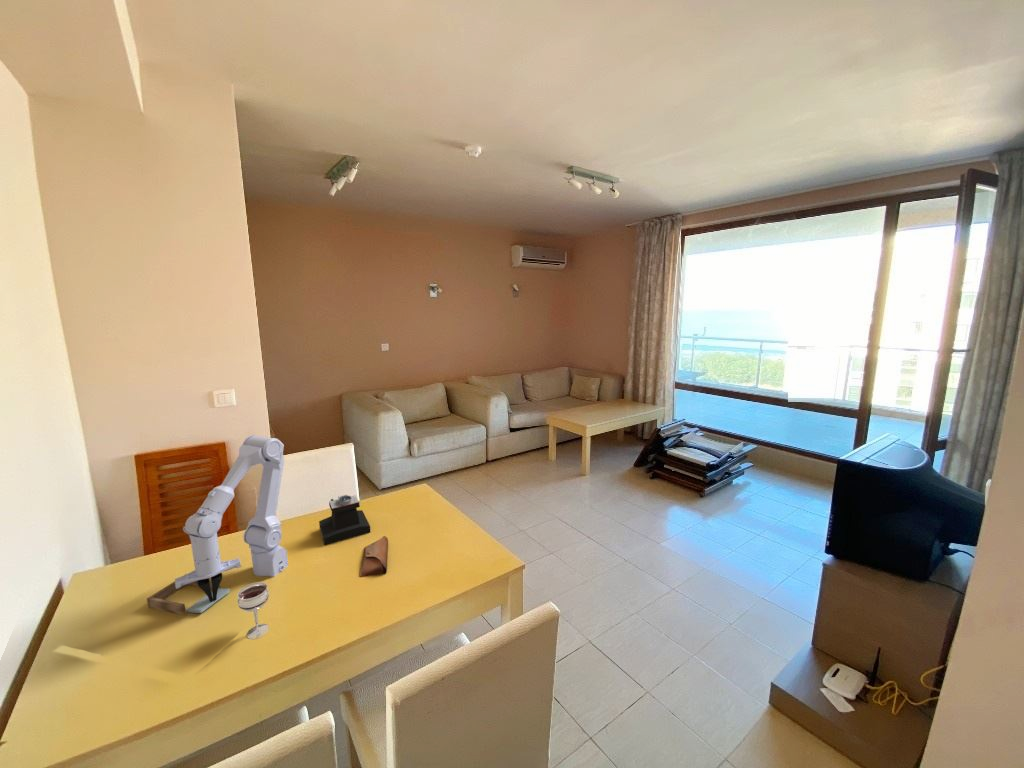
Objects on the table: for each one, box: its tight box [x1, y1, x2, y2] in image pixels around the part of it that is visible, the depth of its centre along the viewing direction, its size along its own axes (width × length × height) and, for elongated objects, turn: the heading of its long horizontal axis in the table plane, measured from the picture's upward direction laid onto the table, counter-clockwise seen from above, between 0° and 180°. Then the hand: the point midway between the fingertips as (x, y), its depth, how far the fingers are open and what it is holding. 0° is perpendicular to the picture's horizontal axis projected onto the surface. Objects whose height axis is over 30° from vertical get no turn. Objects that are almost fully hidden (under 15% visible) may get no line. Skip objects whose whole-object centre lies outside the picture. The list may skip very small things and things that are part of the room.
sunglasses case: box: [359, 535, 389, 578], centre depth 137 cm, size 18×7×7 cm
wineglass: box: [236, 581, 270, 640], centre depth 105 cm, size 7×7×12 cm
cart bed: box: [146, 573, 221, 616], centre depth 117 cm, size 12×11×4 cm
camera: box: [318, 494, 371, 546], centre depth 153 cm, size 16×14×15 cm
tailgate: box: [185, 587, 231, 614], centre depth 115 cm, size 1×9×5 cm
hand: (212, 599), depth 114 cm, fingers closed, pressing on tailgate
